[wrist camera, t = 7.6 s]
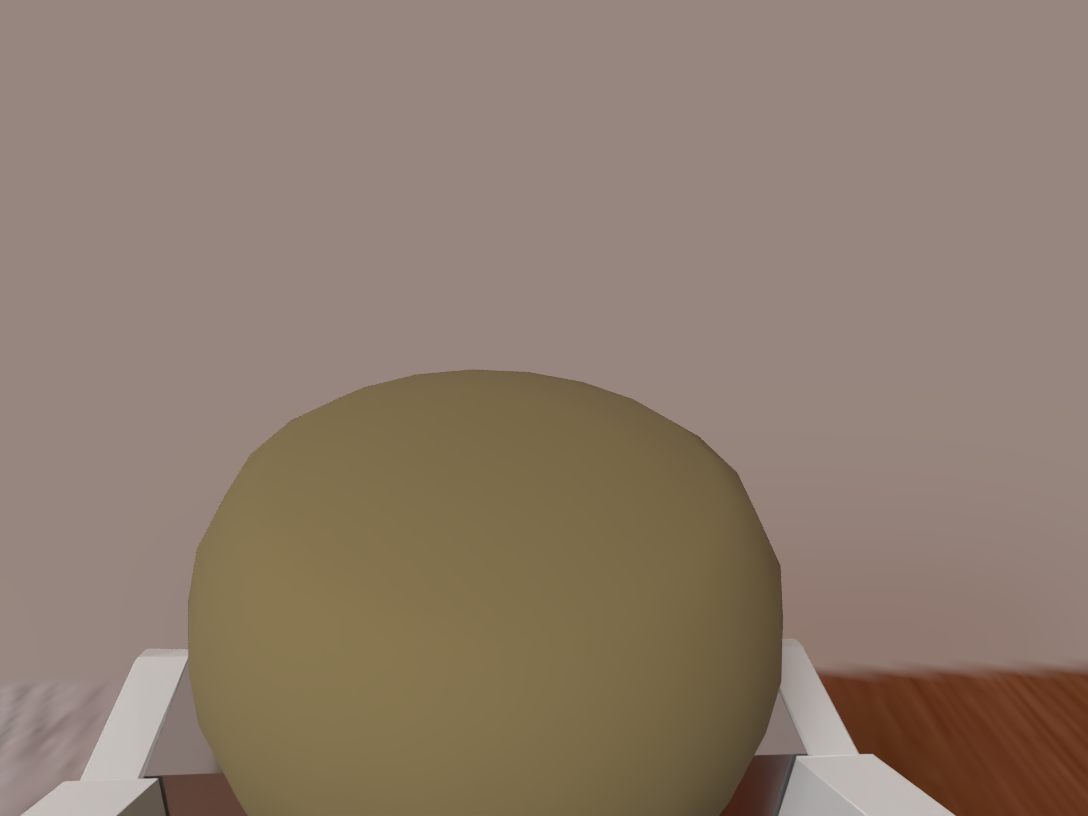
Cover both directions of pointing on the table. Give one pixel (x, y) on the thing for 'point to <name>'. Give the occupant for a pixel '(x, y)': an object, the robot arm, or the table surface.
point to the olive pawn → (485, 609)
